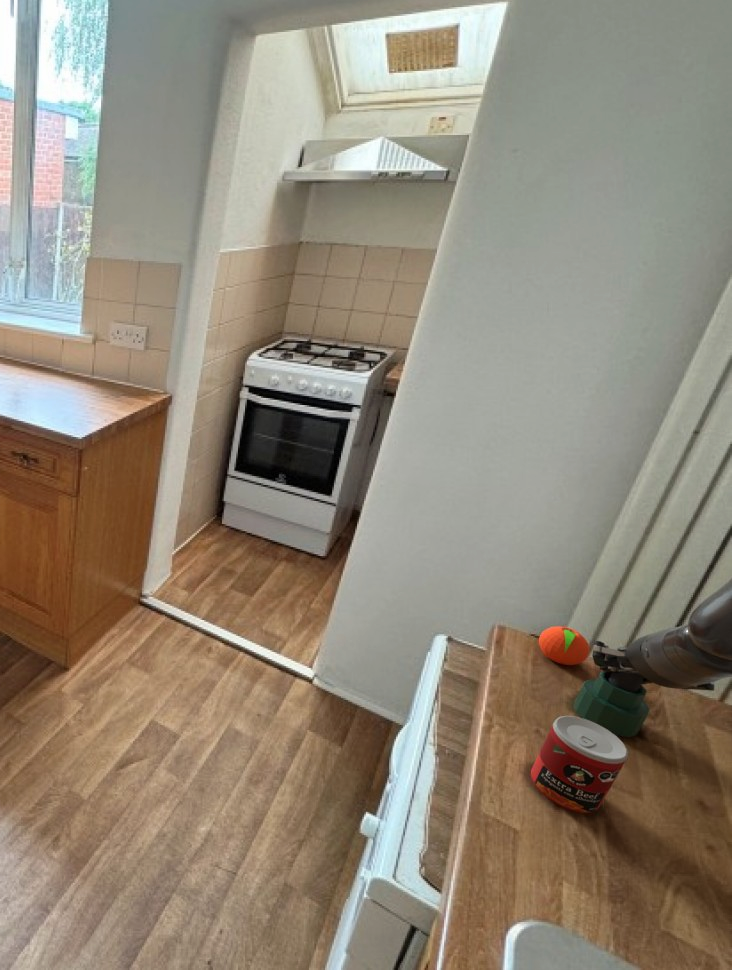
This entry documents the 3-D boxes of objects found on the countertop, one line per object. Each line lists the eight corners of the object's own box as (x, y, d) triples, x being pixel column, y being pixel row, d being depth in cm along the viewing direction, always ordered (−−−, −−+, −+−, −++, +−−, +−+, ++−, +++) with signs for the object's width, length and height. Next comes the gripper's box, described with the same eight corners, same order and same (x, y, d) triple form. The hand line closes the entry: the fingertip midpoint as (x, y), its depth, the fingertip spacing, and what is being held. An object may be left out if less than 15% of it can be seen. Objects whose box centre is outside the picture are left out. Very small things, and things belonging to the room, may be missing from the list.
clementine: (581, 682, 109) (596, 651, 107) (531, 663, 114) (545, 633, 111) (581, 659, 115) (596, 629, 112) (534, 642, 119) (547, 613, 116)
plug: (631, 699, 99) (651, 661, 96) (628, 709, 97) (649, 671, 94) (603, 687, 102) (622, 650, 99) (600, 697, 100) (619, 659, 97)
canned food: (526, 792, 89) (552, 737, 84) (531, 759, 94) (556, 706, 90) (597, 828, 84) (629, 771, 79) (598, 791, 89) (628, 736, 85)
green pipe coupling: (639, 722, 101) (659, 685, 98) (633, 746, 96) (654, 709, 93) (577, 694, 106) (594, 659, 103) (568, 716, 102) (586, 679, 99)
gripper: (753, 650, 83) (683, 667, 97) (614, 614, 90) (567, 635, 104) (752, 704, 81) (681, 713, 95) (610, 663, 88) (562, 677, 102)
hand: (621, 672), depth 100 cm, fingers closed on plug, 3 cm apart
